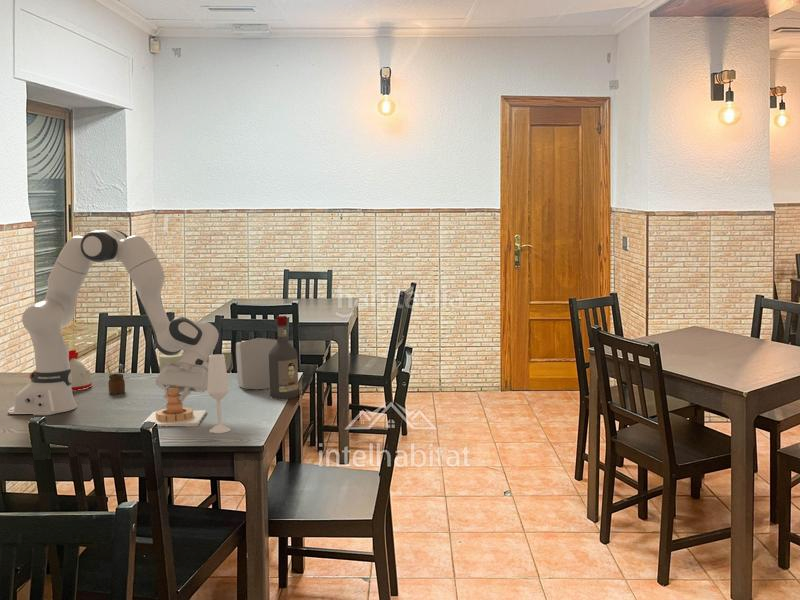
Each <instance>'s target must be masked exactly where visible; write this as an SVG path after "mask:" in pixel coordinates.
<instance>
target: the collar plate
mask: <svg viewBox="0 0 800 600" xmlns="http://www.w3.org/2000/svg"><path fill="white" fill-rule="evenodd" d="M206 412H207V410H206V409H198V410H197V409H196V410H194V409H193V408H192V407H185V406H183V412H182V413H178V414H168V413H167V407H166V408H162V409H159V410H156V411H153V412H151V414H150V415H149V416H148V417H147V418H146V419H145V420H144V421H143V422H142V423H141V425H142V424H143V423H144V422H147V421H151V422H156V423H157V424H158V426H160V427H159V428H162V427H161V426H166V427H165V428H168V427H167V426H186V427H198V426H199V425H200V423H201V422H202V420H203V419H204V417H205V416H204V415H207V413H206ZM202 418H203V419H202ZM200 421H201V422H200ZM198 424H199V425H198ZM141 425H140V426H141Z"/></svg>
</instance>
